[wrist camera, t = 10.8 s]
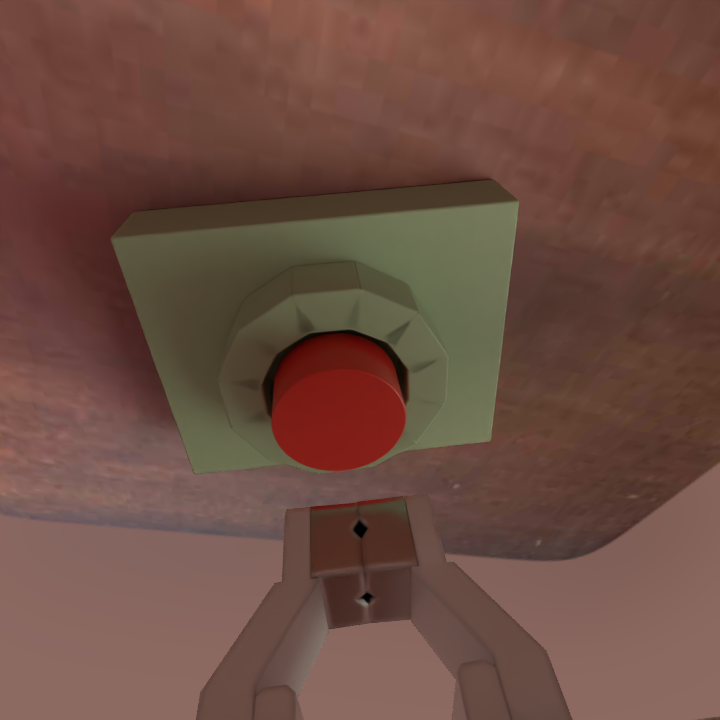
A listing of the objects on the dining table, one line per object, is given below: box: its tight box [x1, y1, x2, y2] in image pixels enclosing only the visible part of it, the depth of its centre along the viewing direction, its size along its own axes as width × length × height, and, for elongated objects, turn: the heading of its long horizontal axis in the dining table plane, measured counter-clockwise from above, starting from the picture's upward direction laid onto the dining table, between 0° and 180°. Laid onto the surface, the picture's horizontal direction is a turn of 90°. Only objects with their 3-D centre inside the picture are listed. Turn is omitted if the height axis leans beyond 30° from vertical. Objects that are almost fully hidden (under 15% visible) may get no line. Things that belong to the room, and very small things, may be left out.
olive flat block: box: [111, 180, 519, 474], centre depth 16 cm, size 11×9×4 cm
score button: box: [271, 333, 406, 471], centre depth 14 cm, size 4×4×2 cm
